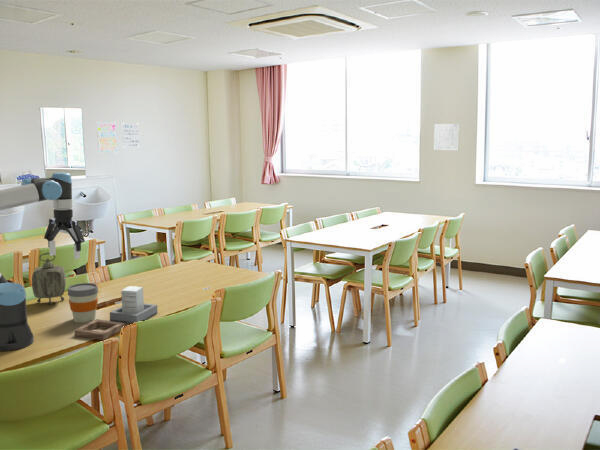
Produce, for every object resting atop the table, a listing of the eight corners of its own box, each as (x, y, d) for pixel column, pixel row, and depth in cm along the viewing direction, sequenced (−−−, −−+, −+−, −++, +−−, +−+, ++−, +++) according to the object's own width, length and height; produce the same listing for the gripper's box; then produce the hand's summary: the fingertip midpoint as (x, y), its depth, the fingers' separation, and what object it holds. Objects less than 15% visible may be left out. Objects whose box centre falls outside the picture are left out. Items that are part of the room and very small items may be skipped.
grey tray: (136, 324, 235) (136, 315, 235) (110, 320, 240) (109, 312, 239) (157, 313, 250) (157, 305, 250) (131, 309, 255) (131, 301, 254)
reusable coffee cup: (69, 316, 245) (67, 284, 242) (99, 313, 249) (97, 281, 247) (68, 325, 233) (66, 292, 231) (99, 322, 238) (98, 289, 235)
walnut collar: (103, 340, 217) (102, 334, 217) (74, 335, 222) (74, 330, 221) (124, 328, 230) (124, 323, 230) (97, 324, 235) (97, 319, 234)
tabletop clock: (67, 299, 270) (64, 250, 266) (66, 304, 261) (62, 254, 257) (35, 301, 265) (31, 252, 261) (32, 307, 257) (29, 256, 252)
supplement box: (129, 312, 249) (128, 285, 247) (144, 313, 248) (143, 286, 246) (121, 317, 242) (120, 290, 240) (137, 318, 241) (136, 291, 239)
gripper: (92, 209, 232) (93, 258, 235) (47, 205, 240) (49, 252, 244) (79, 211, 225) (81, 261, 228) (33, 207, 233) (36, 255, 237)
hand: (64, 256), depth 236 cm, fingers open, 13 cm apart
